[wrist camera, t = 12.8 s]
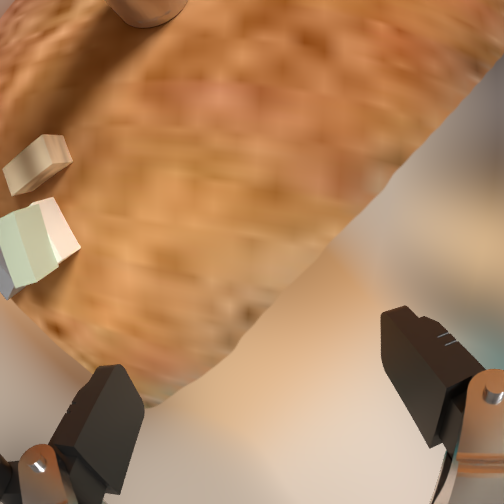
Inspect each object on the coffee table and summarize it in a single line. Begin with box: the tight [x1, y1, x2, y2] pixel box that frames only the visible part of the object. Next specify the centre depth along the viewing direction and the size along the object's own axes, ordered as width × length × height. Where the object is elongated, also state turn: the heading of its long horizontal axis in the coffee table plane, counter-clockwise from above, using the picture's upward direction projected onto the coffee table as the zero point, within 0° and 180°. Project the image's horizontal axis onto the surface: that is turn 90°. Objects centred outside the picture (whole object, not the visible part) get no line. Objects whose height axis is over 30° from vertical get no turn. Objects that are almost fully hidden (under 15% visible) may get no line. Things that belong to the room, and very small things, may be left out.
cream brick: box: [28, 197, 81, 264], centre depth 33 cm, size 8×4×5 cm, turn 28°
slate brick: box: [0, 247, 26, 300], centre depth 34 cm, size 8×4×5 cm, turn 43°
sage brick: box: [0, 204, 59, 288], centre depth 28 cm, size 8×4×5 cm, turn 13°
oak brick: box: [3, 134, 73, 196], centre depth 30 cm, size 8×4×5 cm, turn 113°
